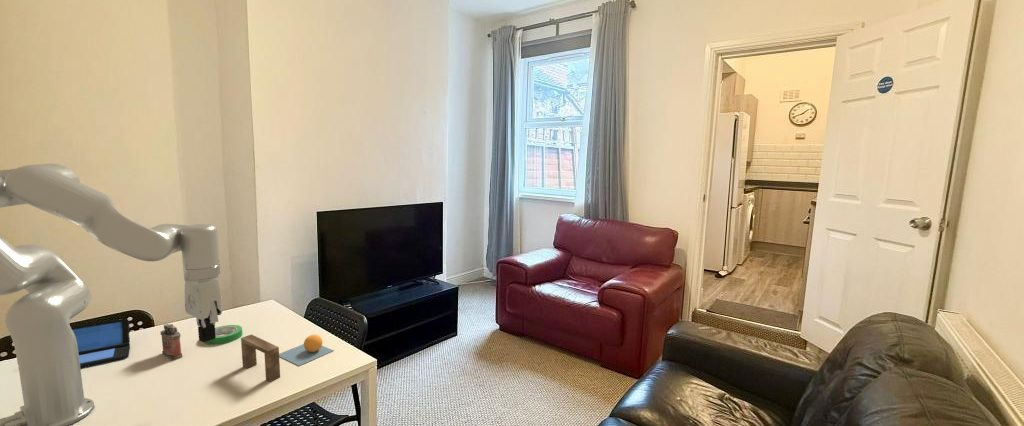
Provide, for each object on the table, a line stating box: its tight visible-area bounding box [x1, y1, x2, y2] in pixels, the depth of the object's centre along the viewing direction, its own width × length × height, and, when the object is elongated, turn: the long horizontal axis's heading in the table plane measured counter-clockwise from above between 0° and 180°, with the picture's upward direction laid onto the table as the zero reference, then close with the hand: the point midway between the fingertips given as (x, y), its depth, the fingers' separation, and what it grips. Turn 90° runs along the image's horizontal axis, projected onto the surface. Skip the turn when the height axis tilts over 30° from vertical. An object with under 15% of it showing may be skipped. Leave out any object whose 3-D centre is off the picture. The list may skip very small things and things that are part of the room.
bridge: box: [240, 334, 281, 382], centre depth 123 cm, size 3×14×9 cm, turn 59°
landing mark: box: [279, 343, 335, 367], centre depth 135 cm, size 12×12×1 cm
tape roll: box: [203, 324, 243, 346], centre depth 144 cm, size 11×11×3 cm
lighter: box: [160, 323, 183, 361], centre depth 130 cm, size 8×3×10 cm, turn 62°
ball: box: [303, 334, 323, 352], centre depth 136 cm, size 6×6×6 cm
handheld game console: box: [70, 318, 131, 369], centre depth 128 cm, size 16×13×9 cm
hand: (207, 339), depth 110 cm, fingers closed
